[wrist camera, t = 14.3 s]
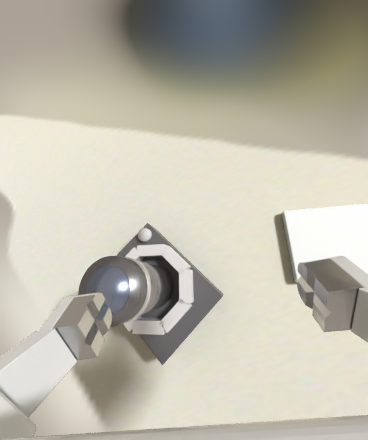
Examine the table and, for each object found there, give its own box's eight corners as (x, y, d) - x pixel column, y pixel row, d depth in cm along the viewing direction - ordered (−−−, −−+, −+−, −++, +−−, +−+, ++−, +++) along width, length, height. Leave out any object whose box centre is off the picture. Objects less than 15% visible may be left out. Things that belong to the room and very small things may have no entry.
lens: (183, 285, 21) (154, 289, 13) (152, 319, 21) (101, 347, 12) (154, 255, 23) (111, 240, 14) (125, 286, 22) (63, 290, 14)
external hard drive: (280, 214, 25) (396, 204, 22) (292, 282, 22) (425, 279, 20) (283, 210, 23) (408, 198, 21) (297, 282, 21) (441, 278, 18)
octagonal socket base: (223, 294, 23) (222, 297, 19) (170, 354, 22) (157, 371, 18) (155, 229, 27) (142, 219, 23) (109, 278, 26) (87, 277, 22)
